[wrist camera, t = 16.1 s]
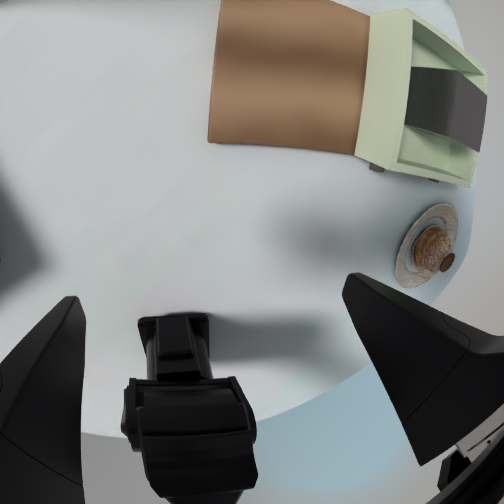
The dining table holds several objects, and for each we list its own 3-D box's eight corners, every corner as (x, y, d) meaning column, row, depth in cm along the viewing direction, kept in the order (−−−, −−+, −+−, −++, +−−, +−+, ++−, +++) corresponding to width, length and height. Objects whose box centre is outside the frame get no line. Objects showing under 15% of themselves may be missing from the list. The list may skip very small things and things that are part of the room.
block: (435, 136, 19) (479, 152, 14) (400, 123, 17) (449, 137, 13) (442, 86, 16) (487, 95, 12) (407, 66, 15) (457, 70, 11)
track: (438, 171, 24) (445, 174, 23) (207, 140, 17) (209, 142, 16) (453, 71, 18) (460, 72, 17) (224, -18, 11) (226, -23, 10)
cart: (439, 180, 23) (467, 195, 19) (352, 165, 19) (386, 181, 16) (456, 60, 16) (487, 65, 12) (370, 7, 12) (406, -1, 9)
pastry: (444, 180, 25) (473, 195, 21) (455, 241, 32) (476, 258, 28) (378, 246, 27) (405, 270, 23) (401, 297, 34) (421, 318, 30)
